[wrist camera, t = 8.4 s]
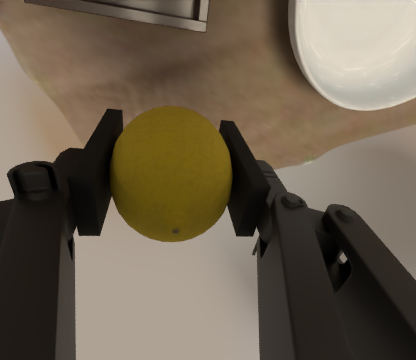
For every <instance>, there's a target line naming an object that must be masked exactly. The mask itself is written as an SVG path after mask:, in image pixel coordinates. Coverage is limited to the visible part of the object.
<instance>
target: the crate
mask: <svg viewBox="0 0 416 360" xmlns="http://www.w3.org/2000/svg"><path fill="white" fill-rule="evenodd" d="M209 1H210V0H24V2H25V3H31V4H37V5H43V6H49V7H55V8H61V9H67V10H73V11H79V12H85V13H91V14H97V15H103V16H109V17H115V18H121V19H127V20H133V21H139V22H145V23H151V24H157V25H163V26H169V27H175V28H181V29H187V30H193V31H199V32H206V26H207V17H208V9H209Z"/></svg>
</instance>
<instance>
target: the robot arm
mask: <svg viewBox="0 0 416 360" xmlns="http://www.w3.org/2000/svg"><path fill="white" fill-rule="evenodd" d="M122 132H123V115H122V110H117V109H107V110H106V112H105V114H104V115H103V117H102V119H101V121H100V122H99V124H98V126H97V127H96V129H95V131H94V132H93V134H92V136H91V137H90V139H89V141H88V142H87V144H86V146H85V147H84V149H79V148H69V149H67V150H65V151H63V152H61V153H60V154H59V156H58V157H57V158H56V160H55V161H54V163H51V162H46V161H33V162H26V163H23V164H20V165H17V166H15V167H14V168H12V169H10V170H9V172H8V173H7V177H8V179H9V182H10V185H11V187H12V190H13V193H14V199H10V200H5V201H0V360H76V349H75V348H76V344H75V243H74V238H73V233H74V231H75V229H76V227H77V229H78V234H79V236H100V233H101V230H102V227H103V223H104V220H105V217H106V213H107V210H108V207H109V203H110V200H111V197H112V194H111V189H110V173H109V167H110V160H111V157H112V153H113V149H114V146H115V143H116V141H117V139H118V138H119V136H120V135H121V133H122ZM219 133H220V134H221V136H222V138H223V140H224V142H225V144H226V146H227V148H228V150H229V153H230V159H231V165H232V173H233V179H232V187H231V194H230V199H229V202H228V204H227V206H228V210H229V213H230V217H231V220H232V223H233V227H234V230H235V233H236V236H251V237H252V236H253V235H254V232H255V229H256V227H257V229H258V232H259V237H258V240H257V243H256V245H255V248H254V250H253V253H252V255H255V253H256V251H257V272H258V273H257V274H258V312H259V346H260V347H259V349H260V360H416V280H415V279H414V278H413V277H412V276H411V274H410V273H409V272H407V270H406V269H405V268H404V267H403V265H402V264H401V263H400V262H399V261H398V259H397V258H396V257H395V256H394V255H393V254H392V253H391V251H390V250H389V249H388V248H387V247H386V246H385V245H384V243H383V242H382V241H381V240H380V239H379V238H378V236H377V235H376V234H375V233H374V232H373V231H372V230H371V228H370V227H369V226H368V225H367V224H366V223H365V221H364V220H363V219H362V218H361V217H360V216H359V215H358V214H357V213H356V212H355V211H353V210H351V209H350V208H349V207H345V206H343V205H338V204H331V205H329V206H328V207H327V209H326V211H325V212H322V211H318V210H314V209H310V208H308V207H307V204H306V203H305V201H304V200H303V199H302V198H300V197H299V196H297V195H295V194H292V193H289V192H287V190H286V188H285V187H284V185H283V184H282V182H281V181H280V179H279V178H278V176H277V175H276V173H275V172H274V170H273V168H272V167H271V166H270V165H269V164H268V163H266V162H265V161H262V160H256V159H255V158H254V156H253V154H252V153H251V151H250V149H249V147H248V146H247V144H246V142H245V140H244V139H243V137H242V135H241V133H240V132H239V130H238V128H237V126H236V125H235V123H234V121H225V120H221V124H220V129H219ZM342 253H344V254H345V256H346V257H347V261H346V262H345V263H343V262H342V261H341V260H340V258H339V257H340V256H341V254H342Z"/></svg>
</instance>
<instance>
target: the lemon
mask: <svg viewBox="0 0 416 360" xmlns="http://www.w3.org/2000/svg"><path fill="white" fill-rule="evenodd" d="M109 173H110V189H111V194H112V197H113V200H114V202H115V205H116V208H117V210H118V212H119V214H120V215H121V216H122V217H123V219H124V220H125V221H126V223H127V224H128V225H129V226H130V227H132V228H133V229H134V230H136V231H137V232H139V233H140V234H142V235H144V236H146V237H148V238H150V239H154V240H159V241H162V242H178V241H185V240H188V239H192V238H194V237H196V236H198V235H200V234H202V233H204V232H205V231H207V230H208V229H209V228H210V227H212V226H213V225H214V224H215V223H216V222H217V221H218V219H219V218H220V217H221V216H222V214H223V213H224V211H225V208H226V206H227V204H228V202H229V199H230V194H231V187H232V179H233V173H232V165H231V159H230V153H229V150H228V148H227V146H226V144H225V142H224V140H223V138H222V136H221V134H220V133H219V131H218V130H217V129H216V128H215V127H214V126H213V125H212V123H211V122H210V121H209V120H208V119H206V118H205V117H203V116H202V115H200V114H198V113H197V112H195V111H193V110H190V109H187V108H183V107H177V106H163V107H157V108H153V109H151V110H149V111H146V112H144V113H142V114H140V115H139V116H137V117H136V118H135V119H134V120H133V121H131V122H130V123H129V124H128V125H127V126H126V127H125V129H124V130H123V132H122V133H121V135H120V136H119V138H118V139H117V141H116V143H115V146H114V149H113V153H112V157H111V160H110V167H109Z"/></svg>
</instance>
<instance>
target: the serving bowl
mask: <svg viewBox="0 0 416 360" xmlns="http://www.w3.org/2000/svg"><path fill="white" fill-rule="evenodd" d="M288 25H289V35H290V41H291V45H292V49H293V52H294V56H295V58H296V61H297V63H298V65H299V67H300V69H301V71H302V73H303V75H304V76H305V78H306V79H307V80H308V82H309V83H310V84H311V85H312V86H313V88H314V89H315V90H316V91H317V92H318V93H319V94H320V95H322V96H323V97H324V98H325V99H327V100H328V101H330V102H332V103H334V104H336V105H338V106H340V107H343V108H347V109H351V110H359V111H370V110H379V109H384V108H388V107H392V106H395V105H398V104H401V103H404V102H406V101H409V100H411V99H413V98H415V97H416V0H289V5H288Z"/></svg>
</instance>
